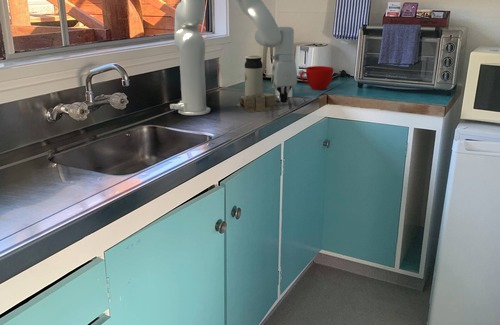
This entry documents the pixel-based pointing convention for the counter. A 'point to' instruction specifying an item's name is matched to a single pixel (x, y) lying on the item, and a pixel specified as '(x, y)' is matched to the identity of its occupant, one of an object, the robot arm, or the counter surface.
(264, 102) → the hinge
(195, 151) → the counter surface
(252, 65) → the travel mug
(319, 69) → the ceramic cup
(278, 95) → the pin
